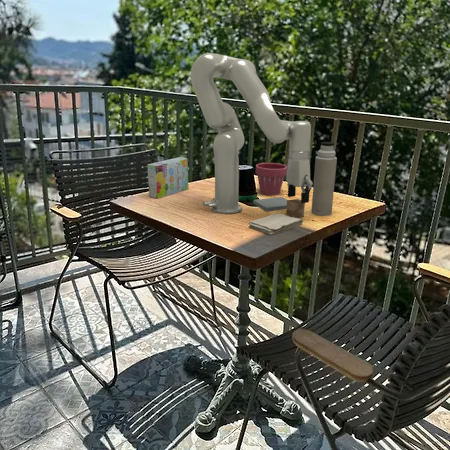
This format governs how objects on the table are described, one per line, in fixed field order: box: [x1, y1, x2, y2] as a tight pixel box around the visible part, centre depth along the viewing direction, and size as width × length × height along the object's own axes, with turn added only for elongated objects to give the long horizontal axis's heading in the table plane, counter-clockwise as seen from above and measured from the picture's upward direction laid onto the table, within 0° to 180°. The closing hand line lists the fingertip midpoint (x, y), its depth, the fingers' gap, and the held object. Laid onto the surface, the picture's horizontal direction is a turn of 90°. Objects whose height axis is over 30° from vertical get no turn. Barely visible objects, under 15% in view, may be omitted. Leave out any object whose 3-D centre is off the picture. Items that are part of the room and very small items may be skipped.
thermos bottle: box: [311, 141, 338, 217], centre depth 169 cm, size 8×8×28 cm
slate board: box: [252, 196, 288, 212], centre depth 182 cm, size 14×12×2 cm
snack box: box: [146, 156, 190, 200], centre depth 197 cm, size 21×6×15 cm, turn 144°
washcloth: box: [248, 213, 304, 236], centre depth 158 cm, size 12×18×3 cm, turn 134°
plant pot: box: [255, 162, 288, 196], centre depth 199 cm, size 14×14×13 cm
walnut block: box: [285, 198, 306, 219], centre depth 168 cm, size 5×5×6 cm
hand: (298, 199), depth 167 cm, fingers open, 9 cm apart
